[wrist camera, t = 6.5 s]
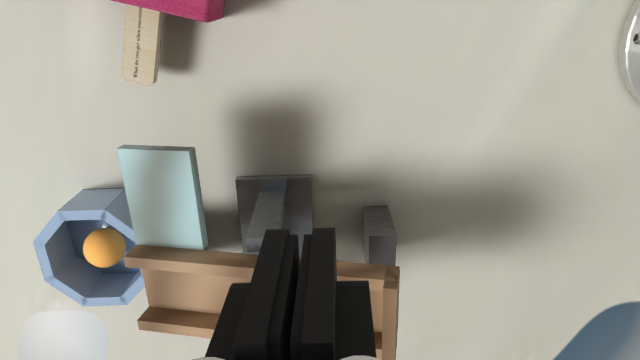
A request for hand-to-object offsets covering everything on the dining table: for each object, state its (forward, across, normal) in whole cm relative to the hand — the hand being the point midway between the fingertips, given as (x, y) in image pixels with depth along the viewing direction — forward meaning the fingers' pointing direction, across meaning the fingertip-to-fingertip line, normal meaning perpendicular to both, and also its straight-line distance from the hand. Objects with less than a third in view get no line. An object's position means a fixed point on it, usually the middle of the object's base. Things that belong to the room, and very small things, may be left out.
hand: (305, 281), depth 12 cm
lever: (+18, +4, +9) cm, 20 cm away
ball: (+23, +19, +12) cm, 32 cm away
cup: (+25, +19, +12) cm, 34 cm away
